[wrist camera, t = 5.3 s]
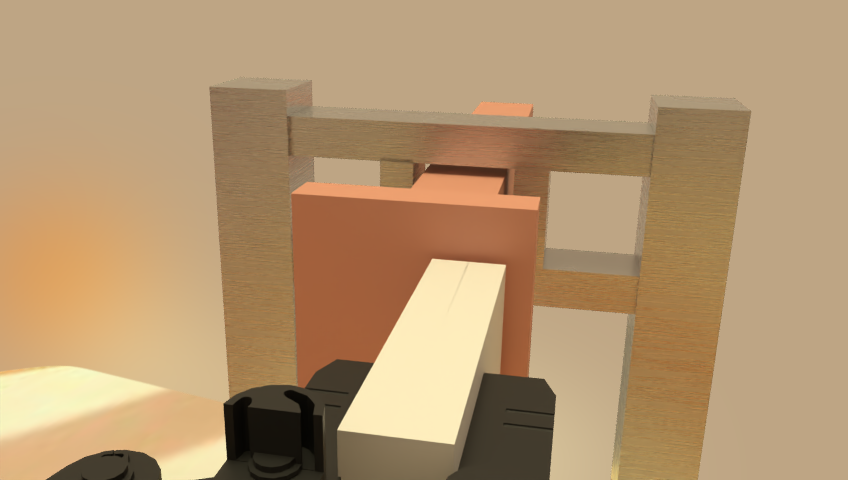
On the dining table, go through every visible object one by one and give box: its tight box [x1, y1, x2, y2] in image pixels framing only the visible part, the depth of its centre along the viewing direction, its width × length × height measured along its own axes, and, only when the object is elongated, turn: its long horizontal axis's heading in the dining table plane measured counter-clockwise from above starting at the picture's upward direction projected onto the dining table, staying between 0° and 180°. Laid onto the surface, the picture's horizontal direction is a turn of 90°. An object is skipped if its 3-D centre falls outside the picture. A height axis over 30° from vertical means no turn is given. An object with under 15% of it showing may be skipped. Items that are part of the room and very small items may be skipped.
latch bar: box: [291, 102, 540, 388], centre depth 27 cm, size 22×5×5 cm, turn 169°
